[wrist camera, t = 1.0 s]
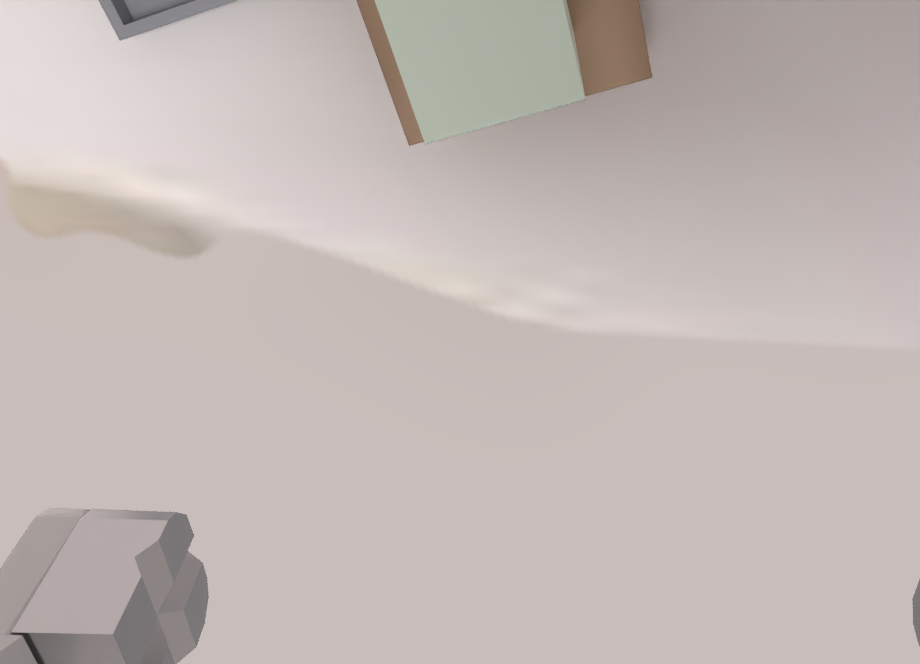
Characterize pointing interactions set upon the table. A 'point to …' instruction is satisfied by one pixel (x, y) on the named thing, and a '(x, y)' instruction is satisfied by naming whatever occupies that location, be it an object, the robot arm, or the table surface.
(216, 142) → the table surface
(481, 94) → the plug block
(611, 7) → the walnut stand
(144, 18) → the charcoal tray
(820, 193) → the table surface
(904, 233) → the table surface
